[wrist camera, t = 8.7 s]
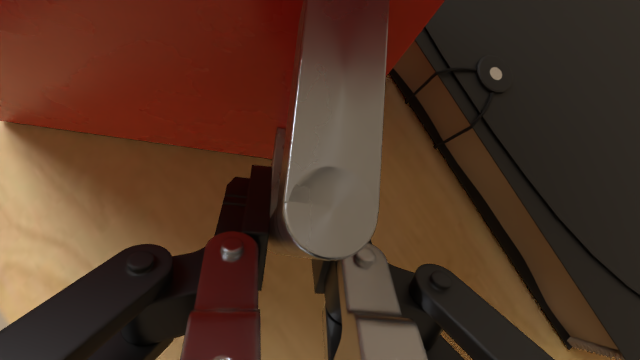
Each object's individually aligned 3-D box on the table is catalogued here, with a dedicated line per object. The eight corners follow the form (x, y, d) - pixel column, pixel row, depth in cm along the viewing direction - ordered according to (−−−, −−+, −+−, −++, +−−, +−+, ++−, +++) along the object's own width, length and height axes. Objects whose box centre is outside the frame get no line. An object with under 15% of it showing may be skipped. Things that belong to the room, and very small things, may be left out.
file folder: (297, -143, 19) (559, -206, 26) (288, -76, 23) (518, -146, 30) (638, 373, 17) (827, 152, 24) (563, 350, 21) (744, 166, 28)
